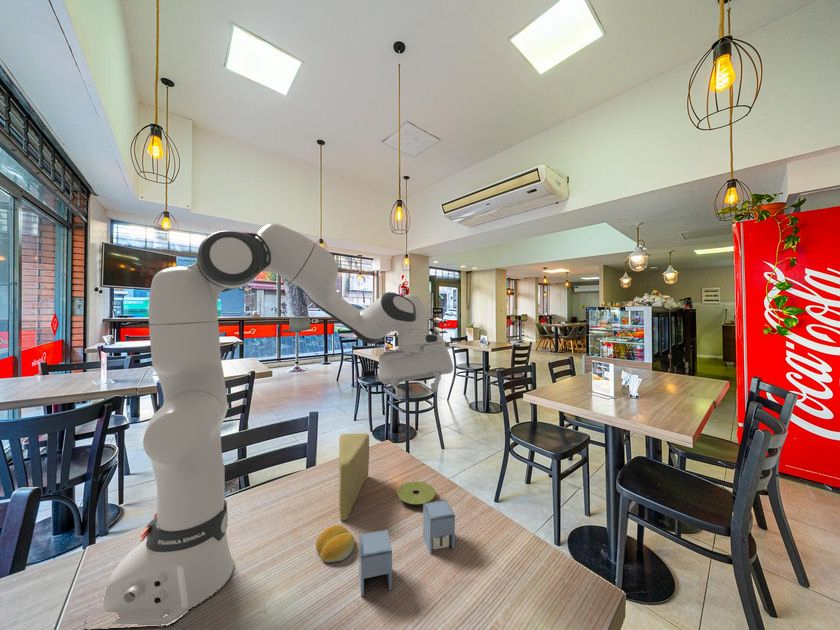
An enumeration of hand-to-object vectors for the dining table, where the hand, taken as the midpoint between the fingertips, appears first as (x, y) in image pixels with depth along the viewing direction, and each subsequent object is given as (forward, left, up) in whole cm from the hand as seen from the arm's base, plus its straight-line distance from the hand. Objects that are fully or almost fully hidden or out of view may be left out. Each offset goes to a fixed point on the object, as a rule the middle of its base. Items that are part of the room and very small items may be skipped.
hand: (416, 393), depth 80 cm
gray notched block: (-12, -14, -34) cm, 39 cm away
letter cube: (+4, -7, -34) cm, 35 cm away
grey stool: (+4, -7, -34) cm, 35 cm away
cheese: (-16, +17, -34) cm, 42 cm away
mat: (+3, +11, -34) cm, 36 cm away
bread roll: (-20, -3, -35) cm, 40 cm away
